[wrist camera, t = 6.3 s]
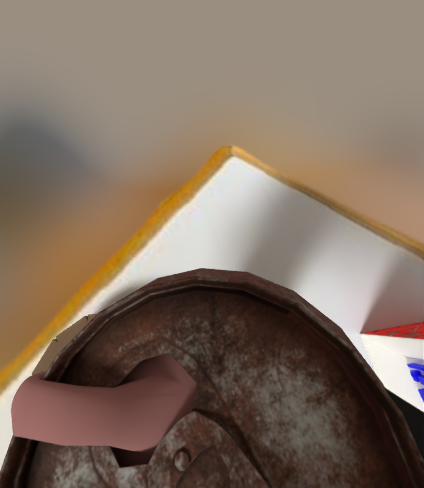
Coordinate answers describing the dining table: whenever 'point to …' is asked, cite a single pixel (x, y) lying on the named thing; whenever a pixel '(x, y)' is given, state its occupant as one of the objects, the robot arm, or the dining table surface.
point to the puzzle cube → (399, 360)
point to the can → (209, 397)
